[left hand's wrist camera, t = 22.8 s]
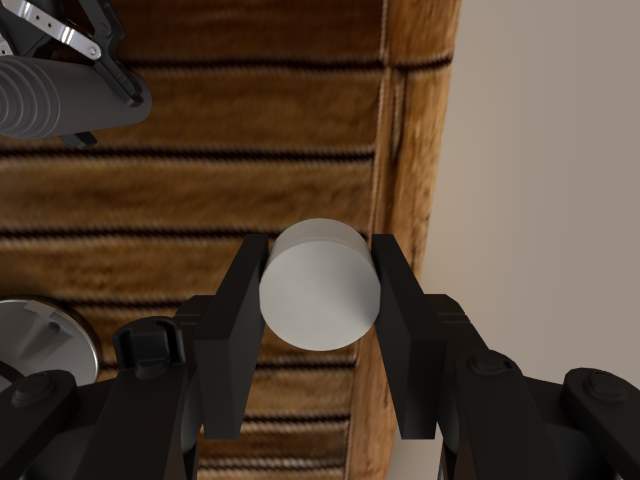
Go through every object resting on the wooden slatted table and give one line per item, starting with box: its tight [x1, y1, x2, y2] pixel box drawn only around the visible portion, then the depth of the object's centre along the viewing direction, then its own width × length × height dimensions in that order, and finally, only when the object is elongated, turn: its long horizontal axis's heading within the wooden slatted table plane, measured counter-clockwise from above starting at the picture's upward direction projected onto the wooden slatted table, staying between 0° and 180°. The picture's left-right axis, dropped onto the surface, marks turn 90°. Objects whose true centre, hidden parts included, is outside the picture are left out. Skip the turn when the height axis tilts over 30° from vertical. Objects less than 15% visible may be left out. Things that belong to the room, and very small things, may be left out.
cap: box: [259, 218, 381, 351], centre depth 13 cm, size 4×4×2 cm
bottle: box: [0, 55, 152, 140], centre depth 28 cm, size 5×5×21 cm
